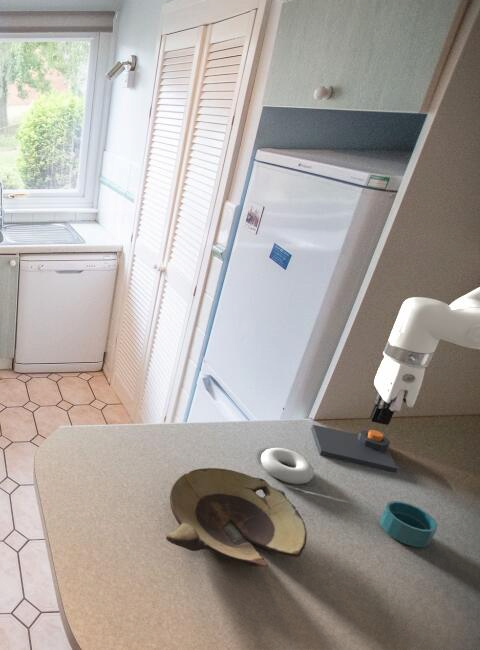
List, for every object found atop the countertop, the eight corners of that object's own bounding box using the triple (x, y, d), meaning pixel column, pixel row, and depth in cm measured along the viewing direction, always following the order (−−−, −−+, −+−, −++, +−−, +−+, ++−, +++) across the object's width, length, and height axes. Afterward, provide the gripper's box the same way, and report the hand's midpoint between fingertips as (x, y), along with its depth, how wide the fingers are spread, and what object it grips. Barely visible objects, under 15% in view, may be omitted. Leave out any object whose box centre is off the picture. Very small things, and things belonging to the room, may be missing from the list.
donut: (275, 451, 109) (249, 464, 105) (279, 439, 108) (253, 452, 103) (321, 477, 101) (295, 493, 96) (325, 465, 99) (299, 480, 95)
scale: (381, 443, 110) (385, 433, 109) (397, 473, 101) (401, 463, 100) (310, 428, 116) (314, 418, 115) (319, 455, 107) (323, 445, 106)
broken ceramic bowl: (335, 570, 80) (348, 539, 77) (175, 592, 77) (182, 560, 74) (247, 479, 100) (255, 451, 98) (119, 493, 97) (122, 465, 94)
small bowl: (420, 525, 88) (428, 508, 86) (434, 554, 82) (444, 537, 81) (373, 513, 91) (381, 496, 89) (385, 540, 85) (393, 523, 84)
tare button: (379, 436, 109) (381, 431, 108) (382, 443, 107) (385, 437, 106) (365, 433, 110) (367, 428, 109) (368, 440, 108) (370, 434, 107)
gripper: (444, 372, 92) (410, 445, 99) (417, 342, 104) (388, 408, 111) (397, 364, 95) (367, 435, 102) (375, 336, 107) (350, 400, 114)
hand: (378, 421), depth 107 cm, fingers closed
